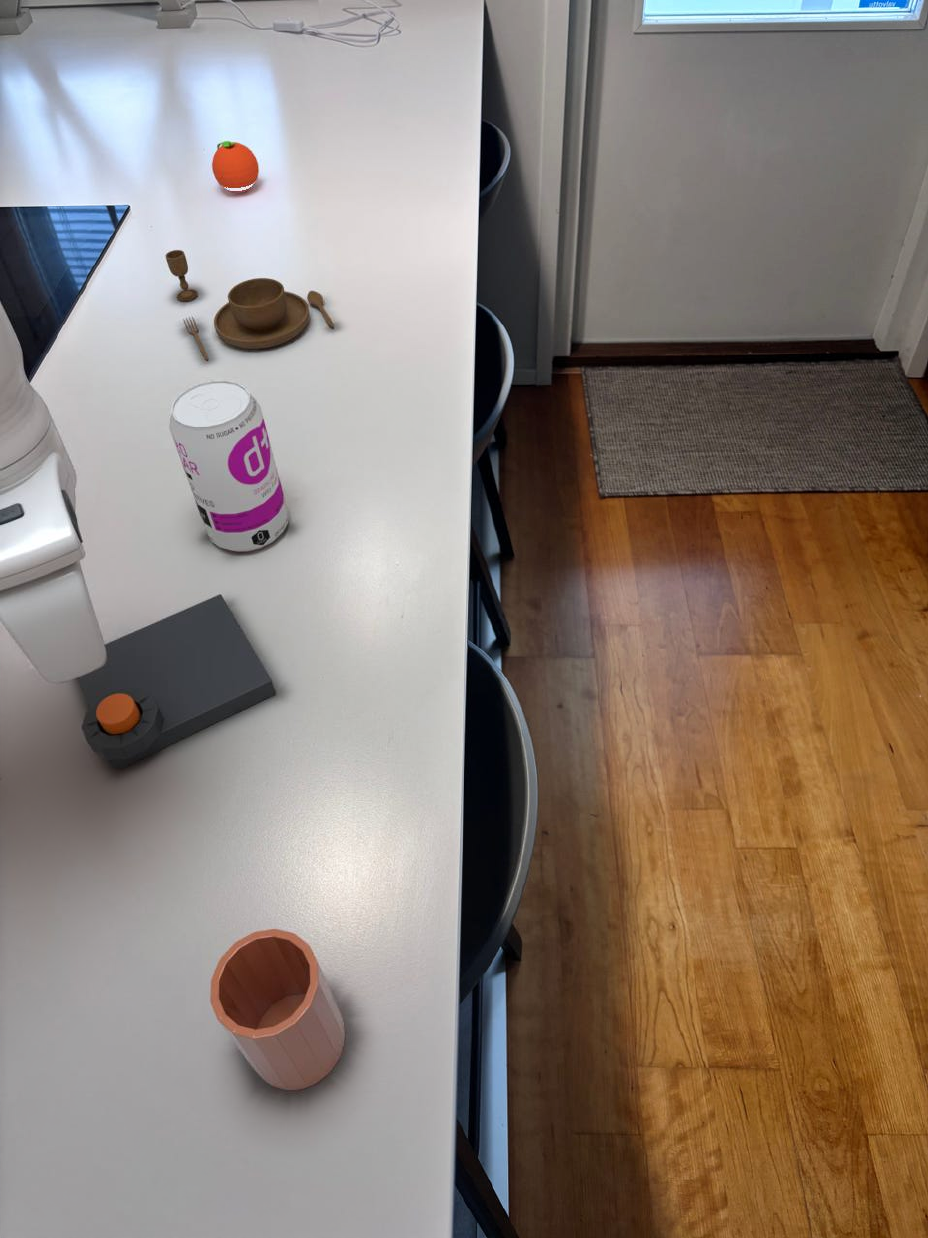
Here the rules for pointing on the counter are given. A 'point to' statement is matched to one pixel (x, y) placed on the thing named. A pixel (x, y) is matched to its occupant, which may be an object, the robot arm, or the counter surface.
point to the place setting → (251, 310)
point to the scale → (175, 680)
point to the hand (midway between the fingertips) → (72, 627)
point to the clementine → (234, 165)
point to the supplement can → (229, 464)
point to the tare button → (118, 714)
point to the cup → (278, 1008)
